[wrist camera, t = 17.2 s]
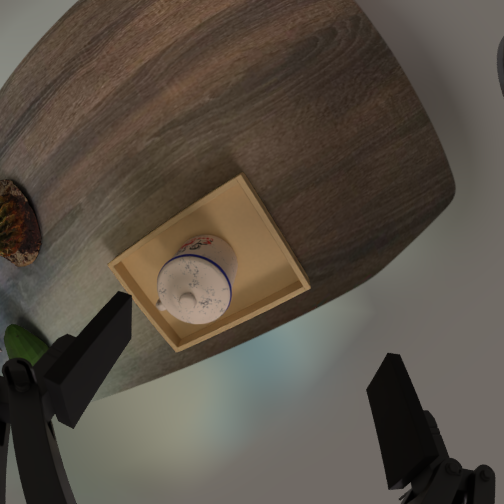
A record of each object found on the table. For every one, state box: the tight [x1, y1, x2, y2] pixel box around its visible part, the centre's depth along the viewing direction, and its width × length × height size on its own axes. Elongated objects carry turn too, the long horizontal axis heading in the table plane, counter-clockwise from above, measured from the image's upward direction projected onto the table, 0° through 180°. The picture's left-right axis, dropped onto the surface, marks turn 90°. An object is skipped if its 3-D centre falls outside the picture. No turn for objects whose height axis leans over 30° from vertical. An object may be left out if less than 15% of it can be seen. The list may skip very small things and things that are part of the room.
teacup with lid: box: [156, 235, 238, 324], centre depth 39 cm, size 12×9×12 cm
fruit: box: [4, 324, 49, 367], centre depth 50 cm, size 15×10×10 cm, turn 28°
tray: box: [107, 172, 311, 352], centre depth 44 cm, size 24×18×3 cm
